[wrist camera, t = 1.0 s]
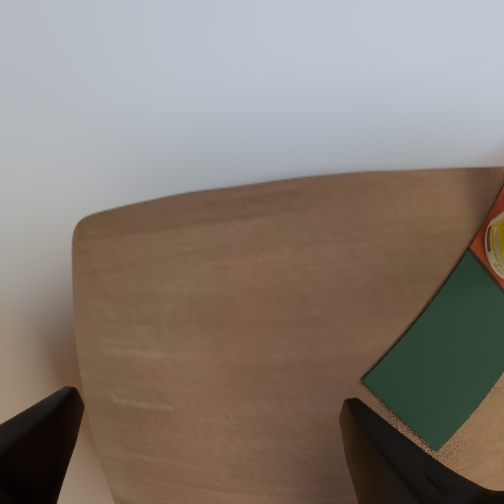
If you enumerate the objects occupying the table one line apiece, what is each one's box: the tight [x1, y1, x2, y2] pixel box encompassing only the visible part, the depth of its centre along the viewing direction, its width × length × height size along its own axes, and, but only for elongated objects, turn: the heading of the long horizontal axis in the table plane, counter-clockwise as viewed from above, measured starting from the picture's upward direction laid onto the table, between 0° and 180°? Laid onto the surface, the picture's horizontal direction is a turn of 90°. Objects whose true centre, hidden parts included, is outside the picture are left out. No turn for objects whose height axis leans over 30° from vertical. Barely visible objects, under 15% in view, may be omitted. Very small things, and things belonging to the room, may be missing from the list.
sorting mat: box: [362, 185, 504, 452], centre depth 17 cm, size 10×26×1 cm, turn 134°
